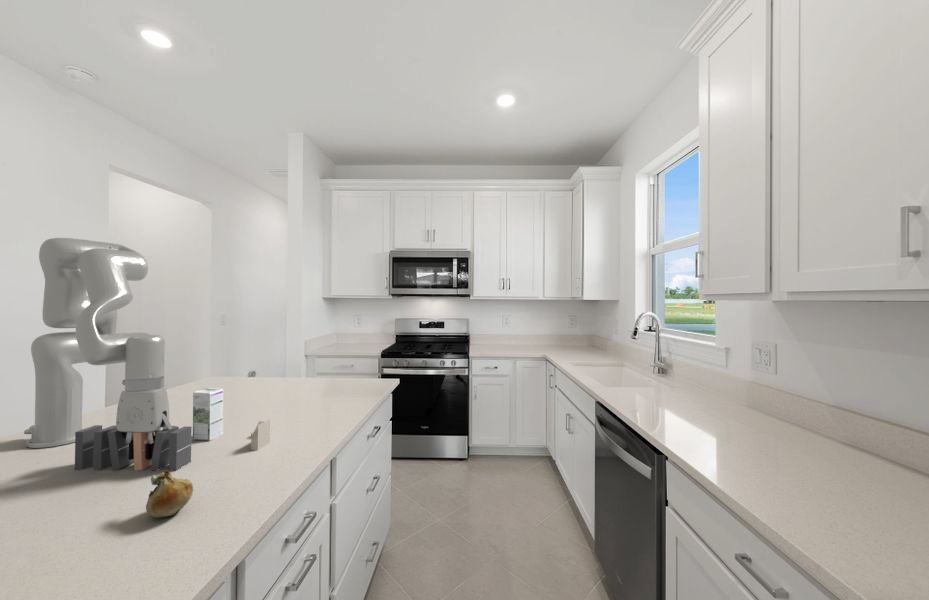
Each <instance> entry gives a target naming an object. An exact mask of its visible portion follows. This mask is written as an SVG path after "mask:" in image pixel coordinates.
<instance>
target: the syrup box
mask: <svg viewBox="0 0 929 600" xmlns="http://www.w3.org/2000/svg"><path fill="white" fill-rule="evenodd" d="M221 436H224V388H208V387H207V388H202V389H198V390H196V391H193V393H192V441H205V440H206V441H209V442H210V441H213V440H215V439H217V438H219V437H221ZM214 438H215V439H214ZM212 439H213V440H212Z"/></svg>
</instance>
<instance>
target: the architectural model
mask: <svg viewBox="0 0 929 600" xmlns="http://www.w3.org/2000/svg"><path fill="white" fill-rule="evenodd" d="M271 432H272V430H271V419H270V418H269V419H267V420H265V421H262V420H261V421H258V423H257V425H256V426H255V429H254V431H253V432H250V435H249V436H248V437H246V440H250V450H251V451H259V450H261V449H263V448H264V447H266V446H267V445H269V444H270V443H271Z"/></svg>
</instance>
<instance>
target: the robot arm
mask: <svg viewBox="0 0 929 600" xmlns="http://www.w3.org/2000/svg"><path fill="white" fill-rule="evenodd" d="M38 260H39V263H40V267H41V269H42V270H41V271H42V272H43V277H44V288H43V289H44V290H43V301H42V321H43V323H44V325H46V326H47V327H48V328H52V329H75V331H64V332H51V333H50V332H49V333H45V334H42V335H39V336H37V337H36V338H35V339H34V340H33V341H32V343H31V346H30V352H31V358H32V362H33V366H34V374H35V378H34V379H35V380H34V381H35V382H34V383H35V384H34V385H35V387H34V388H35V391H34V392H35V393H34V395H35V396H34V399H35V400H34V402H35V403H34V408H35V409H34V425H31V426H29V428H28V429H25V430H24V431H23V433H24V435H31V436H30V437H31V438H29V439H28V440H26V442H25V446H26V447H27V448H29V449H43V448H52V447H58V446H59V447H60V446H64V445H68V444H72V443H75V432H77V431H80V430H83V429H84V428H83V395H84V394H83V393H84V392H83V388H84V385H83V384H84V381H83V376H82V374H81V373H80V372H79V371H78V370H76V368H74V366H73V365H76V364H82V363H83V364H84V363H87V364H89V365H92V366H106V365H107V366H108V365H113V364H115V365H116V364H122V363H124V365H125V366H124V368H125V369H124V370H125V371H124V372H125V373H124V374H125V375H124V379H123V380H122V381H121V384H122V385H123V386H124V390H122V391H121V393H120V396H119V398H118V403H117V410H116V419H115V426H116V428H115V430H118V431H120V432H122V436H123V437H124V438H125V439H126V443H129V458H128V459H129V460H132V459H134V442H133V433H134V432H141V433H147V435H148V442H149V443H148V444H146V460H150V459H152V455H153V449H154V444H155V438H156V432H158V431H161V430H167V431H170V430H172V429H173V427H172V426H173V425H172V424H171V422H170V405H169V396H168V392H167V388H165V349H166V348H165V345H166V343H165V339H164V337H163V336H162V335H158V334H157V335H156V334H150V333H146V332H129V333H127V332H124V333H123V332H122V333H116V331H117V322H118V321H117V320H118V310H120V309H123V308H124V307H127V306H128V305H129V304H131V302H132V301H133V298H134V296H133V293H132V290H131V288H130V284H129V281H133V282H137V281H138V282H139V281H142V280H144V279H145V278H146V277H147V275H148V271H149V266H148V262H147V260H146V259H145V256H143V255H142V254H141V253H140V252H138V251H136V250H134V249H132V248H129V247H127V246H125V245H122V244H119V243H111V242H105V241H104V242H103V241H95V240H88V239H81V238H80V239H79V238H71V237H69V238H68V237H51V238H48V239H46V240H44V241H43V242H42V244H41V246H40V247H39V251H38ZM154 432H155V435H154Z"/></svg>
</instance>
